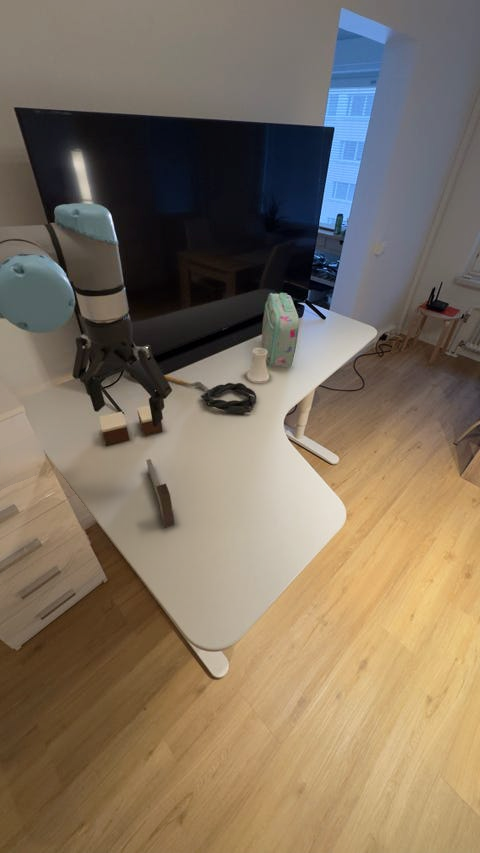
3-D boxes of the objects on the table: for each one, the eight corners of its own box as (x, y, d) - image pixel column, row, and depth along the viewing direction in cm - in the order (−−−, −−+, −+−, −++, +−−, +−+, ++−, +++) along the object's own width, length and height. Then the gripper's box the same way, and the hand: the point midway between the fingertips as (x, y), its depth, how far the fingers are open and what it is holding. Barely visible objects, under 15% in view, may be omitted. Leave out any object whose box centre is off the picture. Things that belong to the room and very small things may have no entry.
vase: (266, 371, 121) (269, 345, 115) (270, 383, 116) (273, 356, 109) (245, 372, 120) (247, 346, 114) (248, 383, 115) (250, 357, 108)
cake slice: (144, 436, 93) (141, 420, 89) (140, 423, 97) (136, 407, 93) (162, 431, 95) (160, 416, 91) (157, 419, 99) (155, 403, 95)
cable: (197, 412, 102) (196, 400, 99) (204, 386, 112) (204, 375, 110) (254, 417, 101) (255, 405, 98) (256, 390, 112) (257, 379, 109)
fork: (155, 374, 114) (208, 388, 108) (158, 371, 115) (210, 384, 109) (157, 380, 116) (209, 394, 110) (160, 376, 117) (212, 390, 111)
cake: (106, 446, 89) (101, 430, 86) (103, 432, 94) (98, 416, 90) (129, 440, 91) (126, 424, 88) (125, 426, 96) (121, 411, 92)
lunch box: (258, 338, 141) (262, 285, 127) (283, 338, 142) (290, 285, 128) (266, 372, 121) (272, 313, 107) (295, 372, 121) (304, 313, 108)
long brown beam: (165, 527, 71) (159, 497, 65) (146, 471, 83) (140, 441, 77) (174, 524, 72) (170, 494, 66) (154, 469, 84) (149, 439, 77)
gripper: (184, 317, 57) (191, 417, 71) (59, 296, 62) (88, 393, 76) (163, 336, 52) (175, 440, 65) (27, 311, 57) (65, 412, 71)
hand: (128, 415), depth 71 cm, fingers open, 13 cm apart
